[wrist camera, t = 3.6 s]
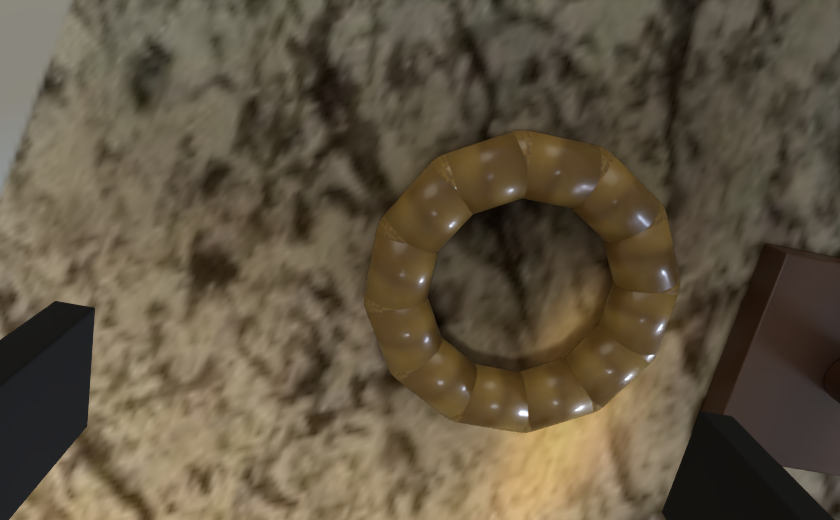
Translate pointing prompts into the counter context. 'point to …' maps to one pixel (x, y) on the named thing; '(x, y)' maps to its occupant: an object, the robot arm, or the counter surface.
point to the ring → (497, 185)
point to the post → (786, 360)
